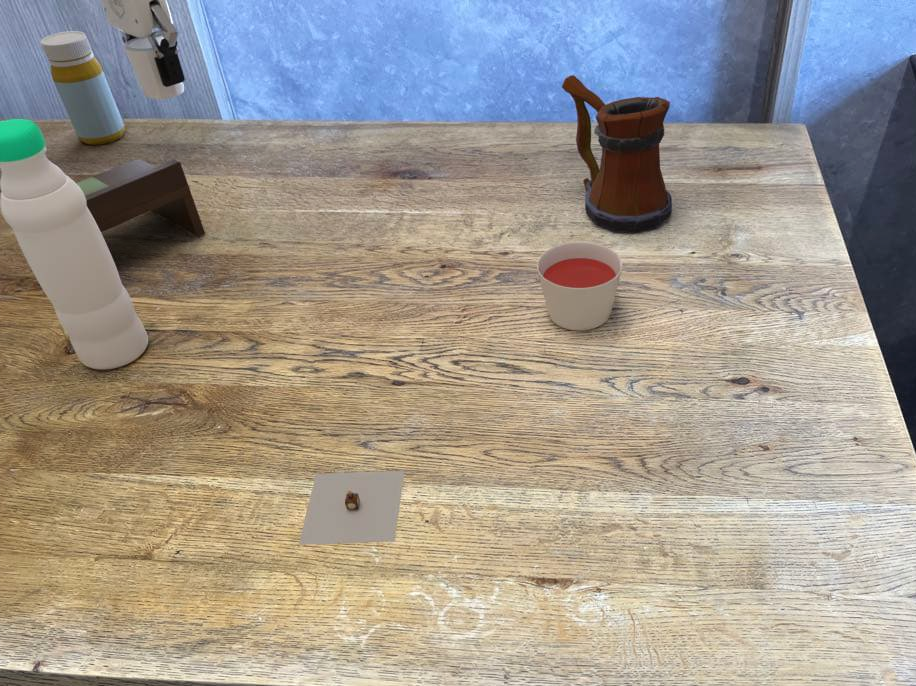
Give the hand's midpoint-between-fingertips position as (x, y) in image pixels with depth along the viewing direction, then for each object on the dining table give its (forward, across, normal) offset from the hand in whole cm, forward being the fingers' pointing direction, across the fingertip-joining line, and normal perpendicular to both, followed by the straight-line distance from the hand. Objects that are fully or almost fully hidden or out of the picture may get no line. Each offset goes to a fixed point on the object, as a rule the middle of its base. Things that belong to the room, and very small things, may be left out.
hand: (159, 76), depth 118 cm
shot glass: (+2, 0, 0) cm, 2 cm away
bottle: (+11, -15, -5) cm, 19 cm away
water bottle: (+11, +39, -32) cm, 52 cm away
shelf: (+11, +19, -20) cm, 30 cm away
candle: (+10, +74, +4) cm, 75 cm away
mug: (+10, +62, +26) cm, 68 cm away
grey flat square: (+11, +76, -30) cm, 83 cm away
